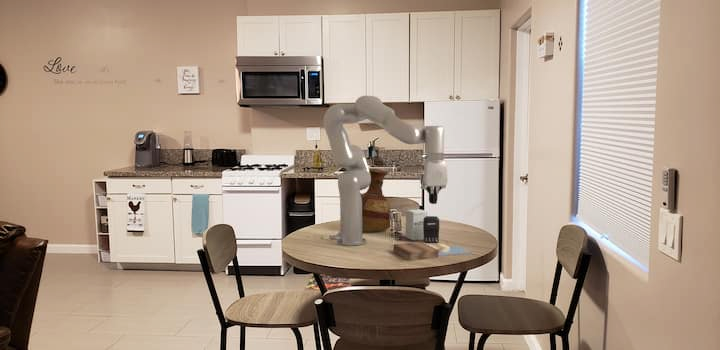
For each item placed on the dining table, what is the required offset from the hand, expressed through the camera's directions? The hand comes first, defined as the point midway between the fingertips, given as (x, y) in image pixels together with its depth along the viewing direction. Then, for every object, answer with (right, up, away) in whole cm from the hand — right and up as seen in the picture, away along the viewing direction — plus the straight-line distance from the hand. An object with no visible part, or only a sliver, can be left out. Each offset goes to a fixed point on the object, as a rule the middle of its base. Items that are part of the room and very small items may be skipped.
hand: (433, 203), depth 219 cm
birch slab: (+2, -18, +3) cm, 19 cm away
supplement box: (-4, -17, +28) cm, 33 cm away
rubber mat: (+6, -20, +4) cm, 21 cm away
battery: (+2, -18, +20) cm, 27 cm away
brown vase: (-24, -16, +46) cm, 54 cm away
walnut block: (-7, -20, -1) cm, 21 cm away
